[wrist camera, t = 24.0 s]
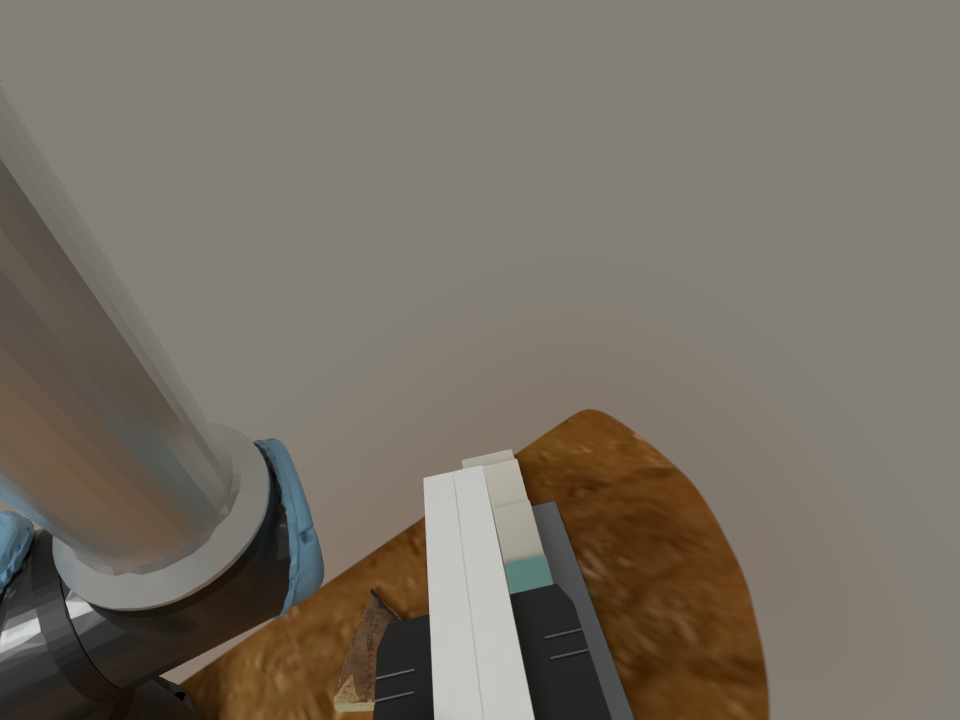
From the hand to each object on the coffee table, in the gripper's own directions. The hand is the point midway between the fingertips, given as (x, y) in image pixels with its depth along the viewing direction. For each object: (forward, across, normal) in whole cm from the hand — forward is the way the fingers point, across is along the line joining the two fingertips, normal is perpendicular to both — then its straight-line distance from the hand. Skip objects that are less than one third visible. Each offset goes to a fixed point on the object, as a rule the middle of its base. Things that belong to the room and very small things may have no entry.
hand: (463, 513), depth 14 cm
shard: (+20, -12, -33) cm, 40 cm away
